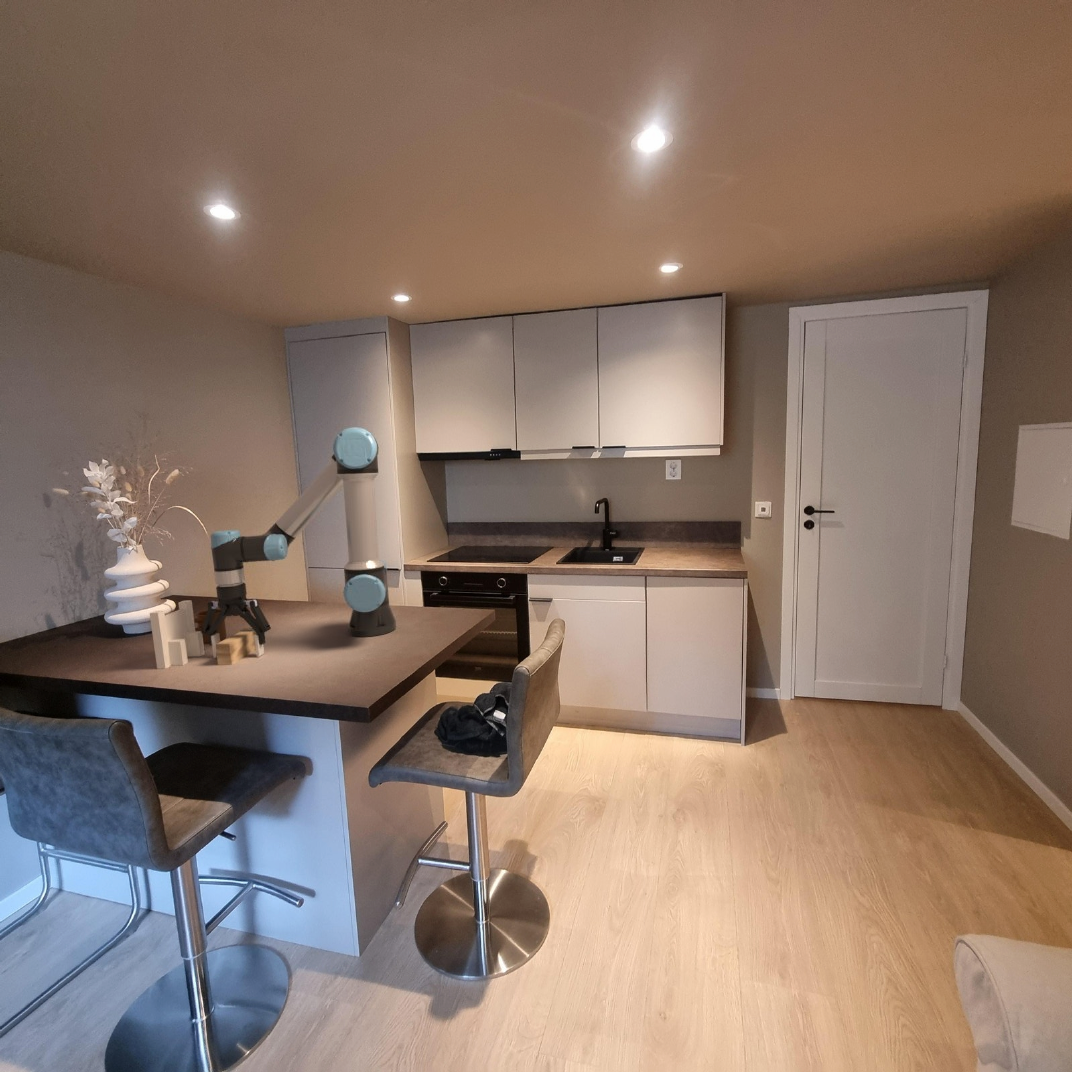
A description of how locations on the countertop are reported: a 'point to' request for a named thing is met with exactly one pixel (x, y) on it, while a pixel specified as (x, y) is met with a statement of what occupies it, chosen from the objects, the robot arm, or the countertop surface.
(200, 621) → the mug
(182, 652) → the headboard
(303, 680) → the countertop surface
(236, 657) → the wooden block
